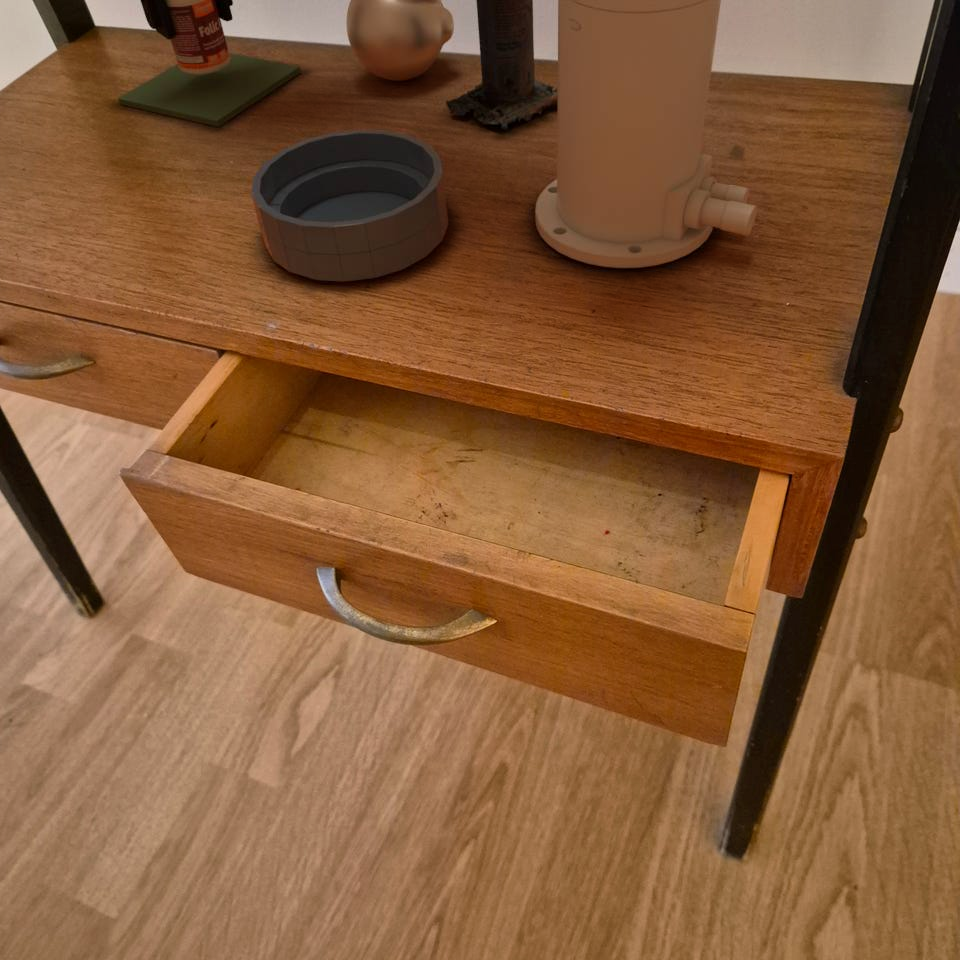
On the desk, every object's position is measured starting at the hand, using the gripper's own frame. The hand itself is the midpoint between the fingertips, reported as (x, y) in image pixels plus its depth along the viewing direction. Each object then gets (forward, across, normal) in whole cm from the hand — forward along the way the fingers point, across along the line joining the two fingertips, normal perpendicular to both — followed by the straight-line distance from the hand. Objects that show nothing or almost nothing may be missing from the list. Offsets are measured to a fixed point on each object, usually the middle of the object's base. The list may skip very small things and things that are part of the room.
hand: (193, 23), depth 78 cm
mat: (+6, 0, 0) cm, 6 cm away
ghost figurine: (+6, +15, -11) cm, 19 cm away
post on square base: (+6, +18, -23) cm, 29 cm away
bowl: (+6, -3, -31) cm, 31 cm away
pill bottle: (+4, 0, 0) cm, 4 cm away
